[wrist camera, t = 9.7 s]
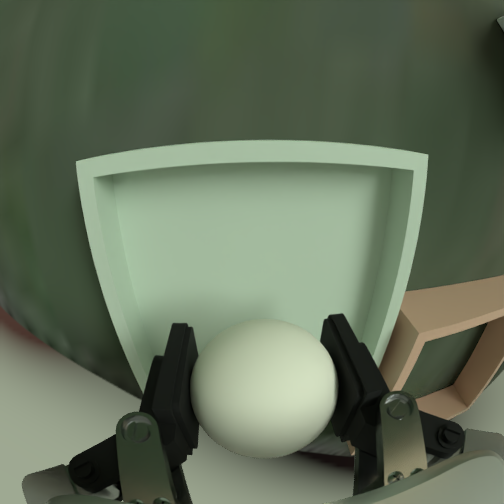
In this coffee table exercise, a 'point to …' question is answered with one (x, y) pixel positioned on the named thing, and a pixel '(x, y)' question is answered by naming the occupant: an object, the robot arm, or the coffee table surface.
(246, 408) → the ball
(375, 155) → the tray
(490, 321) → the tan square frame
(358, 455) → the robot arm
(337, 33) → the coffee table surface
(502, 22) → the small box
